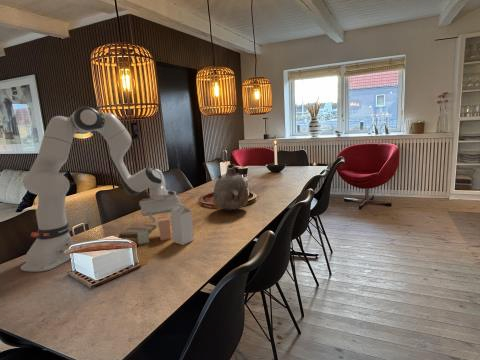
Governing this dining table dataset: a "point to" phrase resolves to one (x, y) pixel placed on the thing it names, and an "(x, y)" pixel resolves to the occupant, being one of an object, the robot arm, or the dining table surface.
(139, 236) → the sage block
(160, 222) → the terracotta block
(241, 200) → the jug
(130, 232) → the walnut board
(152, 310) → the dining table surface
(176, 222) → the milk carton
